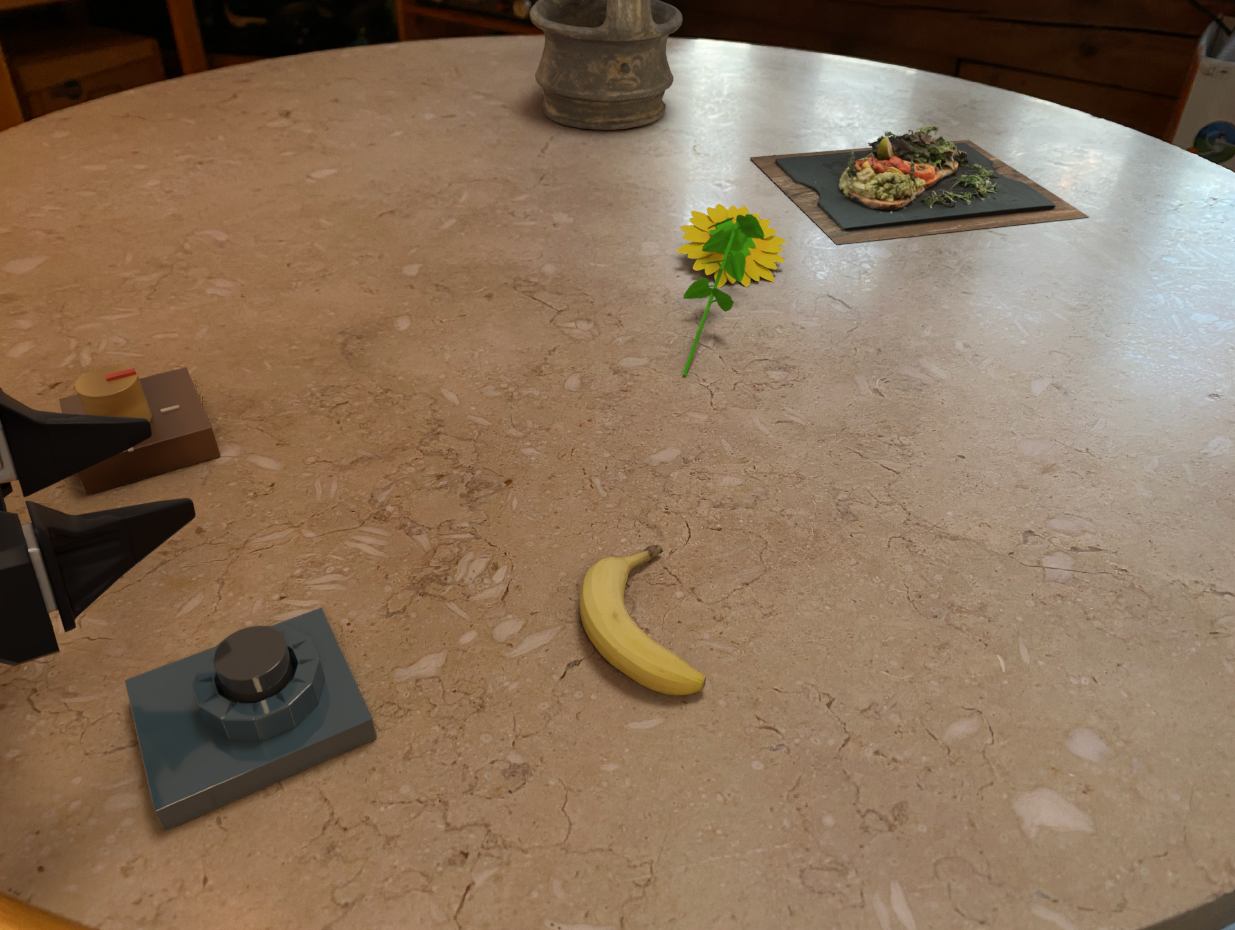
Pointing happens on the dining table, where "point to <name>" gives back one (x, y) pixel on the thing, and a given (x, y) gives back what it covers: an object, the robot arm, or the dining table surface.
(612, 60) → the clay pot
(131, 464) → the panel
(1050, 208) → the plated dish
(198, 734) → the knob base
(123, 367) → the knob
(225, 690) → the dark rotary knob
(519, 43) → the dining table surface
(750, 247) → the flower
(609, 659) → the fruit
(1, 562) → the robot arm
